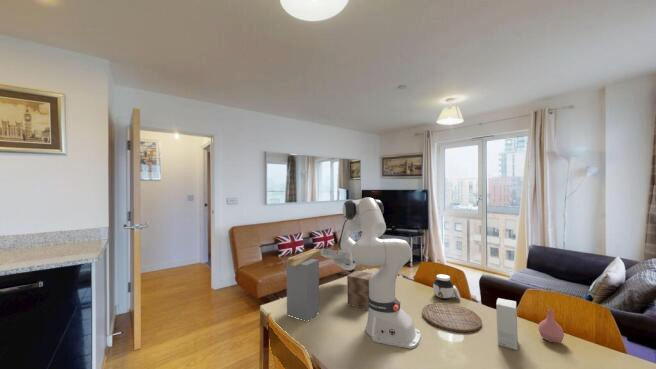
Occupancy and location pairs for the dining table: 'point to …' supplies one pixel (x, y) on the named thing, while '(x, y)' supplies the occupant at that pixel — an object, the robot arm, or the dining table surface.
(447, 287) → the spread jar
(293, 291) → the tall stand
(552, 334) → the pink teardrop-shaped piece
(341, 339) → the dining table surface
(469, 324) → the trivet
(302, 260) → the oak bar
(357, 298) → the walnut block
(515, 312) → the skincare box
